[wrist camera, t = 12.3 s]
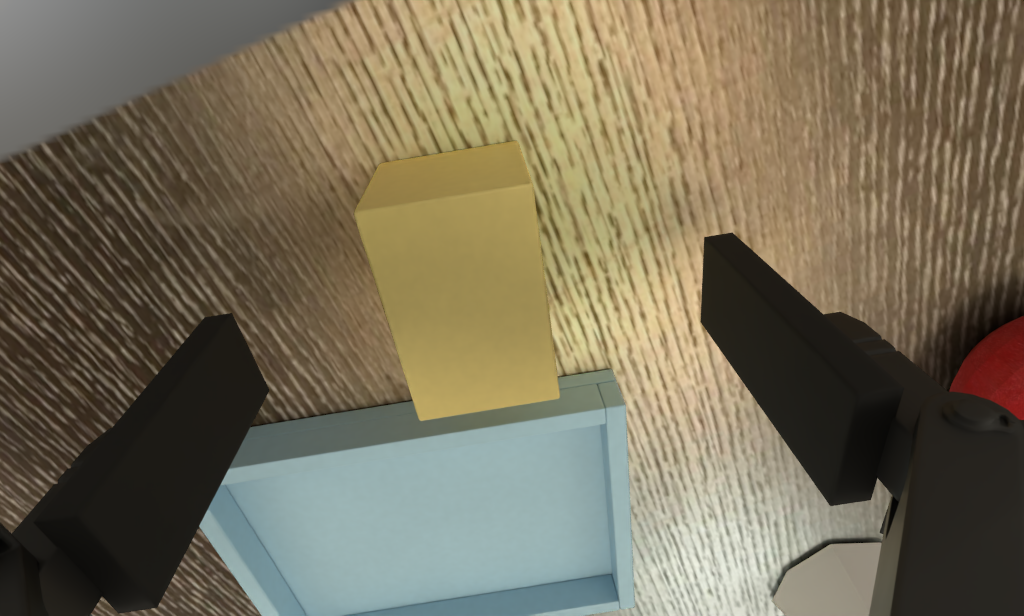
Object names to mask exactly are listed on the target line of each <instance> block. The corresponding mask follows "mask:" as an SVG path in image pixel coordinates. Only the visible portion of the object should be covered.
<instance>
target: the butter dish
mask: <svg viewBox="0 0 1024 616" xmlns="http://www.w3.org/2000/svg"><path fill="white" fill-rule="evenodd" d="M558 384H559V391H560V397H559V399H555V400H548V401H542V402H536V403H530V404H524V405H517V406H511V407H505V408H499V409H493V410H486V411H480V412H474V413H468V414H461V415H455V416H449V417H443V418H437V419H430V420H424V421H420V420H419V419H418V416H417V413H416V410H415V406H414V403H413V401H409V402H403V403H397V404H391V405H385V406H378V407H372V408H366V409H360V410H354V411H347V412H341V413H335V414H329V415H323V416H316V417H310V418H304V419H298V420H292V421H285V422H279V423H273V424H267V425H261V426H254V427H250V429H249V431H248V433H247V435H246V437H245V438H244V440H243V442H242V444H241V446H240V448H239V450H238V452H237V454H236V456H235V458H234V460H233V462H232V464H231V466H230V467H229V469H228V471H227V473H226V475H225V477H224V479H223V481H222V483H221V485H220V487H219V489H218V491H217V493H216V495H215V496H214V498H213V500H212V502H211V504H210V506H209V508H208V510H207V512H206V514H205V516H204V518H203V520H202V522H201V524H200V525H199V527H200V528H201V530H202V531H203V533H204V534H205V535H206V537H207V538H208V540H209V541H210V543H211V544H212V545H213V547H214V548H215V550H216V551H217V553H218V554H219V555H220V557H221V558H222V560H223V561H224V562H225V564H226V565H227V567H228V568H229V570H230V571H231V572H232V574H233V575H234V577H235V578H236V580H237V581H238V582H239V584H240V585H241V587H242V588H243V590H244V591H245V592H246V594H247V595H248V597H249V598H250V599H251V601H252V602H253V604H254V605H255V607H256V608H257V609H258V611H259V612H260V614H261V615H262V616H584V615H591V614H597V613H604V612H610V611H616V610H619V608H620V609H628V608H634V607H635V596H634V574H633V552H632V530H631V508H630V486H629V464H628V442H627V420H626V405H625V402H624V399H623V397H622V394H621V392H620V389H619V386H618V384H617V382H616V379H615V376H614V373H613V371H612V369H608V370H601V371H595V372H589V373H583V374H577V375H570V376H564V377H558Z"/></svg>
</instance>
